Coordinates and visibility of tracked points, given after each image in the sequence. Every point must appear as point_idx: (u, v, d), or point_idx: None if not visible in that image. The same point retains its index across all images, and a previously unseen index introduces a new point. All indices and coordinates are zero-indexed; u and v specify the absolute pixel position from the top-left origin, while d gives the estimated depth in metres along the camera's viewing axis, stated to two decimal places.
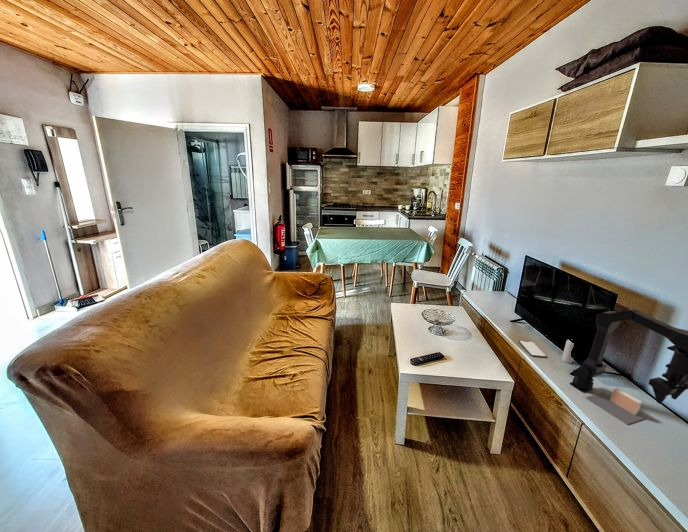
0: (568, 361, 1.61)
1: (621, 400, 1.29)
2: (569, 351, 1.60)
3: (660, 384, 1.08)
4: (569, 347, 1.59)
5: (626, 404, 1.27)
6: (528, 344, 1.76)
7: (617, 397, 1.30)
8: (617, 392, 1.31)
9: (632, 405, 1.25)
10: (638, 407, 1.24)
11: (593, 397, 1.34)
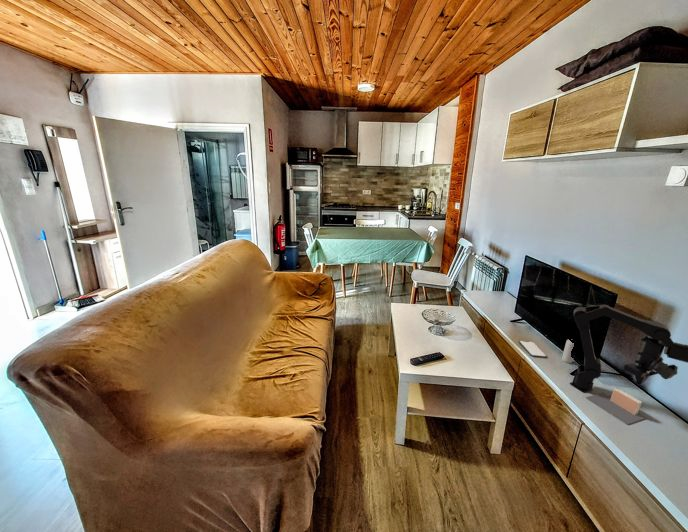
0: (568, 361, 1.61)
1: (621, 400, 1.29)
2: (569, 351, 1.60)
3: (632, 369, 1.23)
4: (569, 347, 1.59)
5: (626, 404, 1.27)
6: (528, 344, 1.76)
7: (617, 397, 1.30)
8: (617, 392, 1.31)
9: (632, 405, 1.25)
10: (638, 407, 1.24)
11: (593, 397, 1.34)
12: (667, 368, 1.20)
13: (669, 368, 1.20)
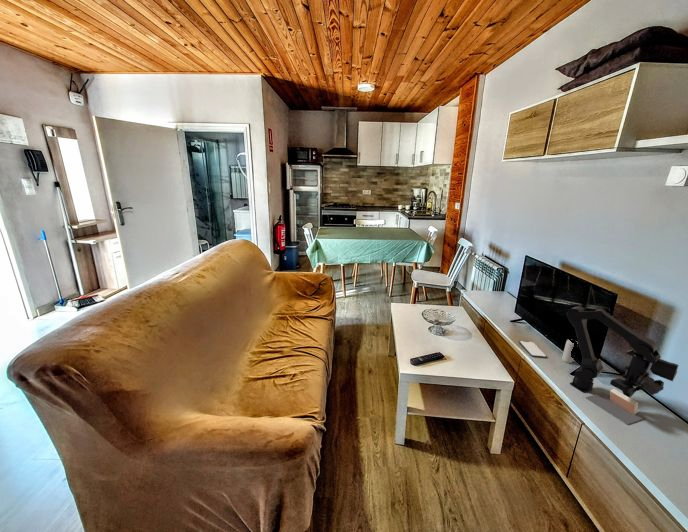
0: (568, 361, 1.61)
1: (619, 401, 1.29)
2: (569, 351, 1.60)
3: (619, 384, 1.23)
4: (569, 347, 1.59)
5: (624, 405, 1.27)
6: (528, 344, 1.76)
7: (615, 398, 1.30)
8: (613, 394, 1.30)
9: (630, 406, 1.25)
10: (636, 408, 1.24)
11: (593, 397, 1.34)
12: (653, 383, 1.20)
13: (655, 383, 1.20)
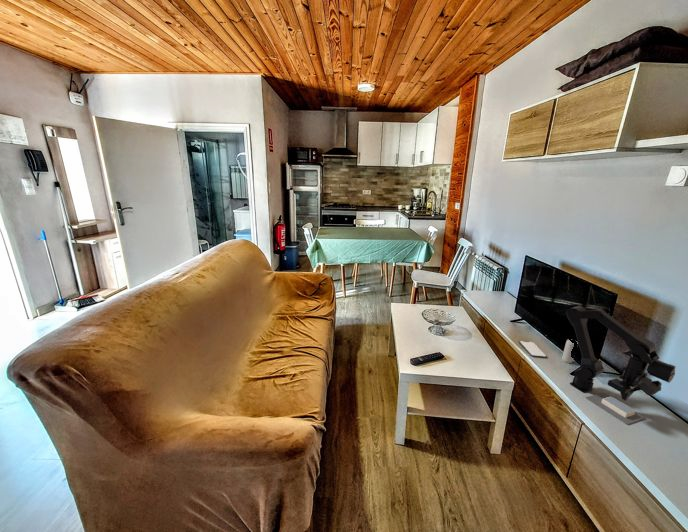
0: (568, 361, 1.61)
1: None
2: (569, 351, 1.60)
3: (616, 385, 1.22)
4: (569, 347, 1.59)
5: None
6: (528, 344, 1.76)
7: None
8: None
9: None
10: (629, 414, 1.24)
11: (593, 397, 1.34)
12: (651, 384, 1.19)
13: (653, 384, 1.19)
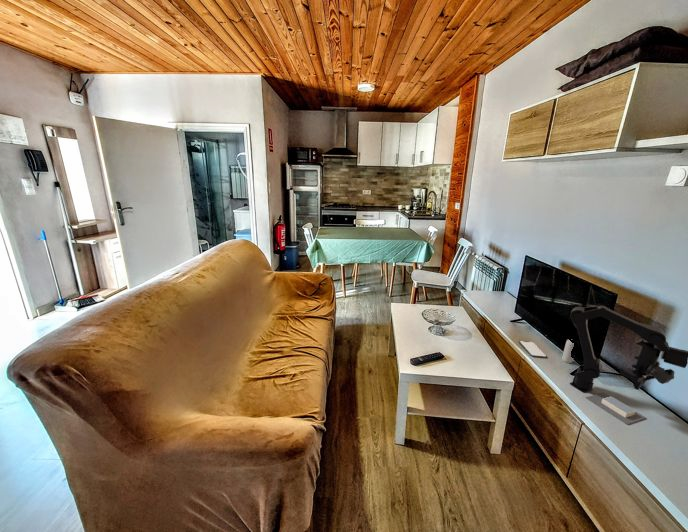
0: (568, 361, 1.61)
1: None
2: (569, 351, 1.60)
3: (629, 373, 1.23)
4: (569, 347, 1.59)
5: None
6: (528, 344, 1.76)
7: None
8: None
9: None
10: (629, 414, 1.24)
11: (593, 397, 1.34)
12: (664, 372, 1.19)
13: (666, 372, 1.20)
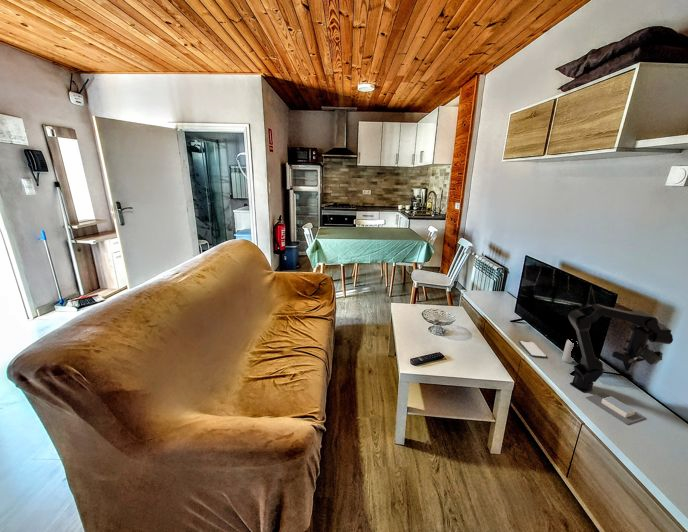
0: (568, 361, 1.61)
1: None
2: (569, 351, 1.60)
3: (620, 355, 1.30)
4: (569, 347, 1.59)
5: None
6: (528, 344, 1.76)
7: None
8: None
9: None
10: (629, 414, 1.24)
11: (593, 397, 1.34)
12: (653, 354, 1.27)
13: (654, 354, 1.27)
